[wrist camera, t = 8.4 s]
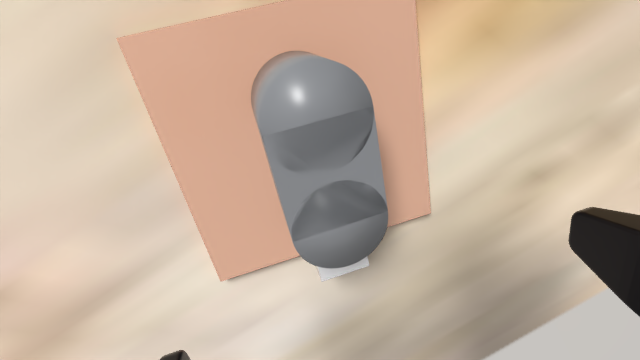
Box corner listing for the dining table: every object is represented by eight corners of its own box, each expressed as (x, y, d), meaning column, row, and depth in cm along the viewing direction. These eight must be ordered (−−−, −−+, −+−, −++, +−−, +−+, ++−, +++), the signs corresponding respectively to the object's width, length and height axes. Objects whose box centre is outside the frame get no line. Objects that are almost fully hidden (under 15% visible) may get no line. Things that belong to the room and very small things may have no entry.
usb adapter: (238, 63, 14) (244, 76, 11) (331, 40, 15) (364, 46, 11) (295, 254, 19) (312, 308, 15) (365, 232, 19) (397, 278, 16)
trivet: (406, -27, 15) (413, -28, 15) (425, 208, 21) (430, 213, 20) (120, 37, 14) (116, 38, 13) (220, 274, 19) (220, 281, 18)
